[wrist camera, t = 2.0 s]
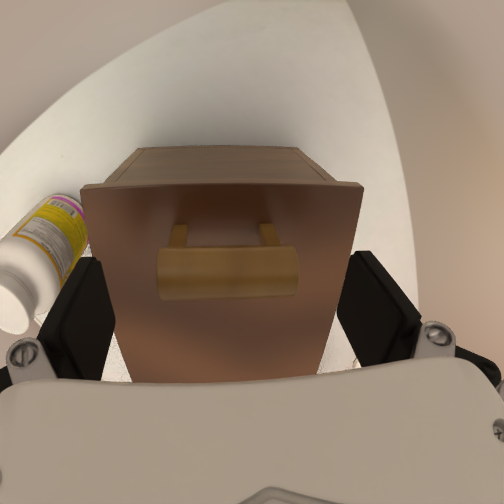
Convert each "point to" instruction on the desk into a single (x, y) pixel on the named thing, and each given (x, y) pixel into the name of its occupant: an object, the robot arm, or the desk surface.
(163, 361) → the brown wooden box lid
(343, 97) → the desk surface
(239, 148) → the chest
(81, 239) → the supplement bottle
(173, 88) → the desk surface
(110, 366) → the desk surface
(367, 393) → the robot arm
